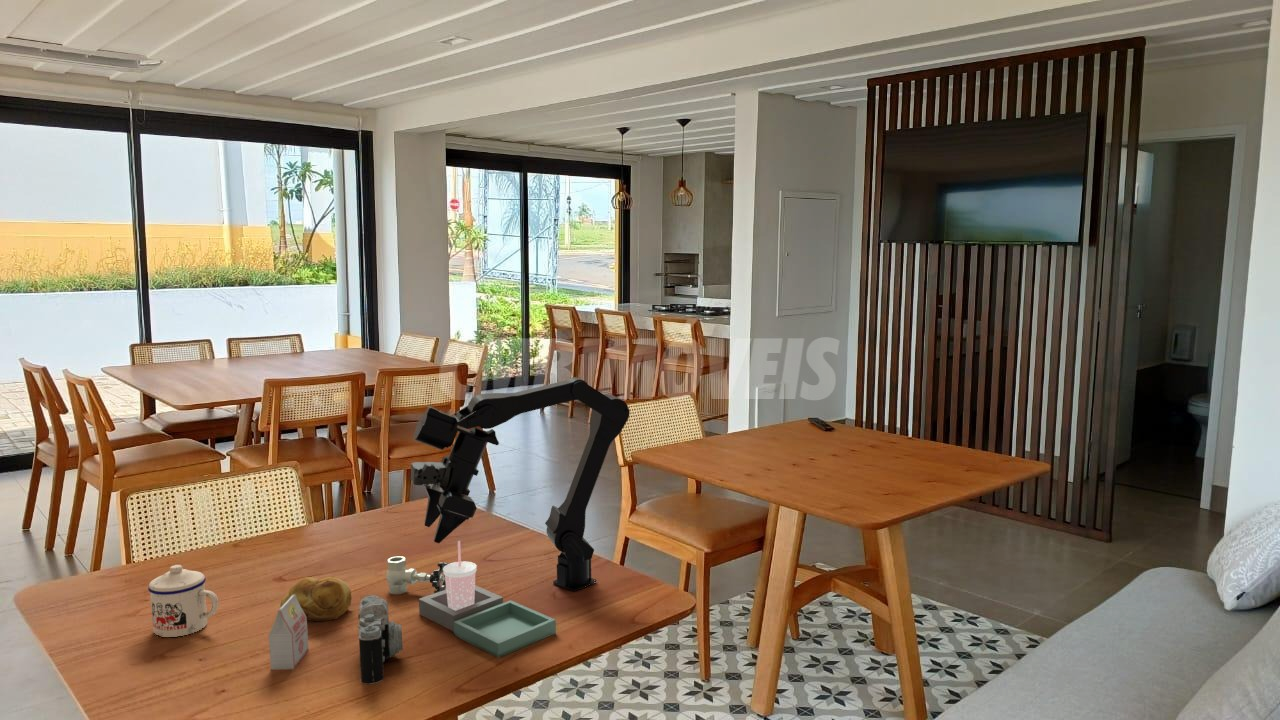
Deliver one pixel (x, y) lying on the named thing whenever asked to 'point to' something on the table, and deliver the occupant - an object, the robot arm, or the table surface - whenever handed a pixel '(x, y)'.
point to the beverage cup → (460, 582)
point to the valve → (411, 576)
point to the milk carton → (288, 636)
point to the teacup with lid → (180, 602)
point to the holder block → (445, 616)
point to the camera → (376, 638)
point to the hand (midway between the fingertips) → (431, 534)
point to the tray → (504, 628)
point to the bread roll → (321, 597)
